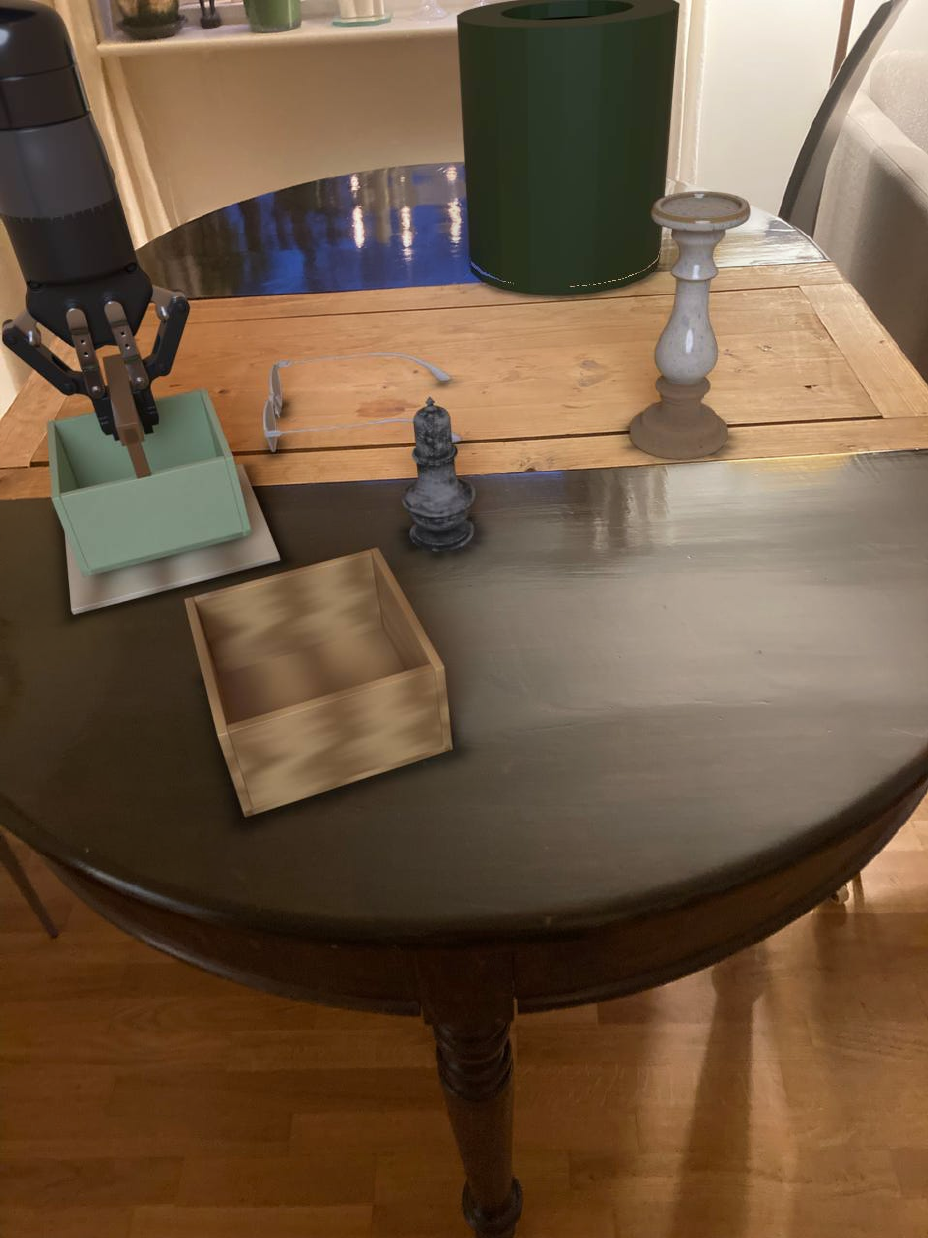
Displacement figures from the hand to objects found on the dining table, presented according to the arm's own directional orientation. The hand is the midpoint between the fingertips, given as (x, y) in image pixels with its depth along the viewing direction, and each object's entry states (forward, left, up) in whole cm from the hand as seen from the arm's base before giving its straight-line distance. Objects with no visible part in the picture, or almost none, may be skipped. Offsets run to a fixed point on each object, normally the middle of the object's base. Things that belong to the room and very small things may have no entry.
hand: (134, 432), depth 71 cm
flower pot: (+58, +43, -10) cm, 72 cm away
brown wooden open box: (+7, -26, -10) cm, 29 cm away
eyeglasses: (+21, +12, -10) cm, 26 cm away
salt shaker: (+21, -10, -10) cm, 25 cm away
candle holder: (+46, -5, -10) cm, 47 cm away
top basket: (0, 0, -8) cm, 8 cm away
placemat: (0, 0, -10) cm, 10 cm away
